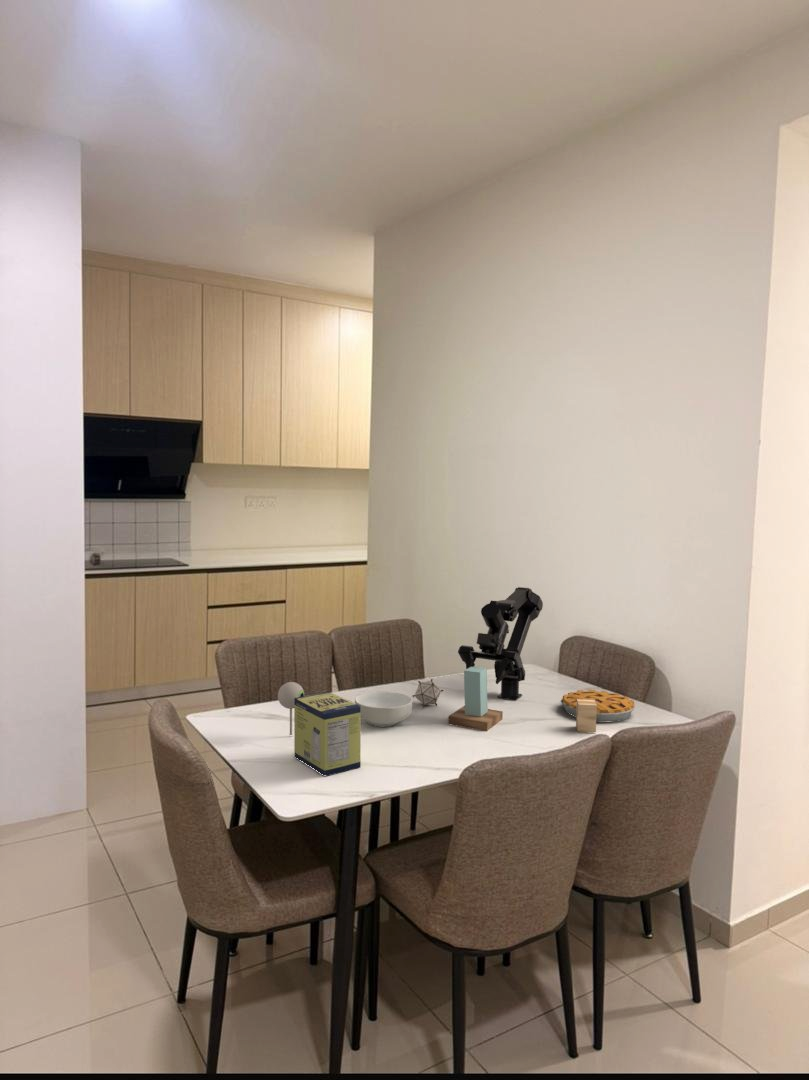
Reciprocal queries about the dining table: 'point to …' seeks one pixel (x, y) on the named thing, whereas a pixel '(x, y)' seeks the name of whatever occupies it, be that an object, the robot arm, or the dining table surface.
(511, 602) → the robot arm
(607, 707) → the pie
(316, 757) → the protein box
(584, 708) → the oak block
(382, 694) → the cereal bowl
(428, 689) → the wireframe polyhedron model
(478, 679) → the teal block
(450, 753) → the dining table surface
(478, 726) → the walnut slab
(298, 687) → the lollipop
